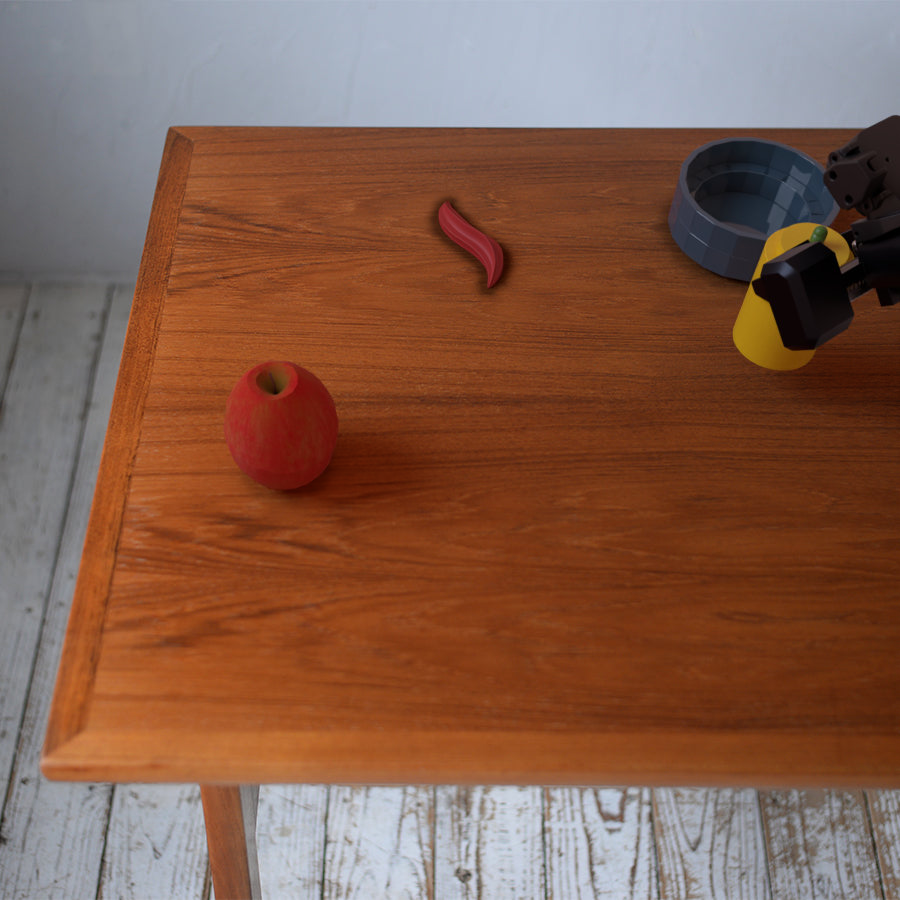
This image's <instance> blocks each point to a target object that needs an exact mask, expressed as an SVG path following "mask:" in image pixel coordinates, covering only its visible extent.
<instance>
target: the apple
mask: <svg viewBox="0 0 900 900" xmlns="http://www.w3.org/2000/svg"><path fill="white" fill-rule="evenodd" d="M339 424H340V423H339V418H338V413H337V409H336V403H335V400H334V398H333V396H332V395H331V393H330V392H329V390H328V388H327V386H326V385H325V384H324V383H323V382H322V381H321V379H320V378H318V377H317V375H315V374H314V373H313V372H312V371H309V369H306V368H305V367H303V366H301V365H299V364H296V363H295V362H291V361H290V360H271V359H269V360H267V361H264V362H261V363H259V364H257V365H255V366H254V367H252V368H251V369H249V370H248V371H246V372H245V373H243V375H242V376H241V377H240V378H239V379H238V381H236V383H235V385H234V387H233V389H232V390H231V391H230V394H229V396H228V398H227V399H226V405H225V413H224V420H223V428H222V429H223V433H224V434H223V435H224V438H225V439H224V440H225V443H226V445H227V447H228V450H229V452H230V455H231V457H232V460H233V461H234V462H235V464H236V465H237V466H238V468H239V470H241V471H242V472H243V473H244V474H246V475H247V476H248V477H250V478H251V479H252V480H253V481H254V482H255V483H257V484H258V485H260V486H263V487H265V488H266V489H270V490H279V491H283V490H295V489H298V488H300V487H303V486H306V485H308V484H310V483H311V482H312V481H314V480H316V479H317V478H318V477H319V476H321V475H322V474H323V473H324V471H325V470H326V469H327V467H328V466H329V465H330V462H331V460H332V458H333V454H334V452H335V449H336V445H337V440H338V436H339V435H338V433H339V426H340V425H339Z"/></svg>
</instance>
